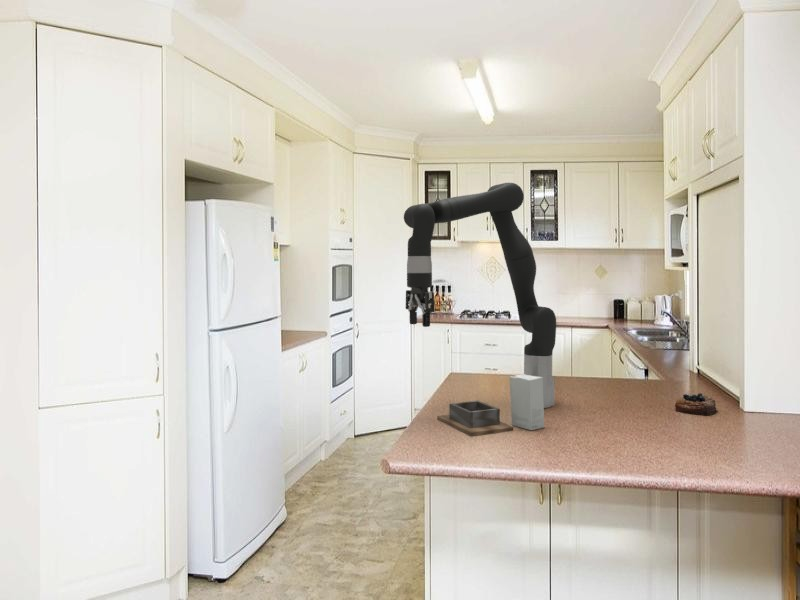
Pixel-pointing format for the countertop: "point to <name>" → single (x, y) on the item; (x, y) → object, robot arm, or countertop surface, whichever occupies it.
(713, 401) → the pastry
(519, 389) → the skincare box
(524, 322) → the robot arm
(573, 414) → the countertop surface
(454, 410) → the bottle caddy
